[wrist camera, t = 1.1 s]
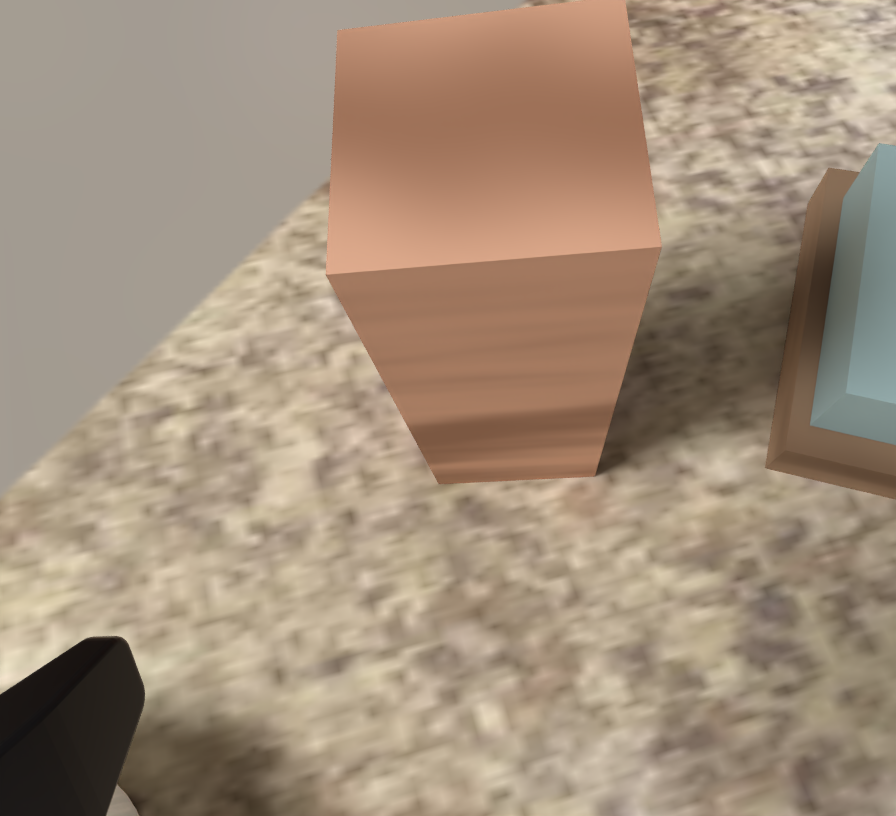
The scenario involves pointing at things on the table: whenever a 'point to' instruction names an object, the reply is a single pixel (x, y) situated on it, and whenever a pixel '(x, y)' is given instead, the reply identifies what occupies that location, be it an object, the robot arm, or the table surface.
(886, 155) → the tower top block
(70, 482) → the table surface
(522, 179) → the terracotta block
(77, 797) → the robot arm
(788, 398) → the tower base slab
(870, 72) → the table surface
